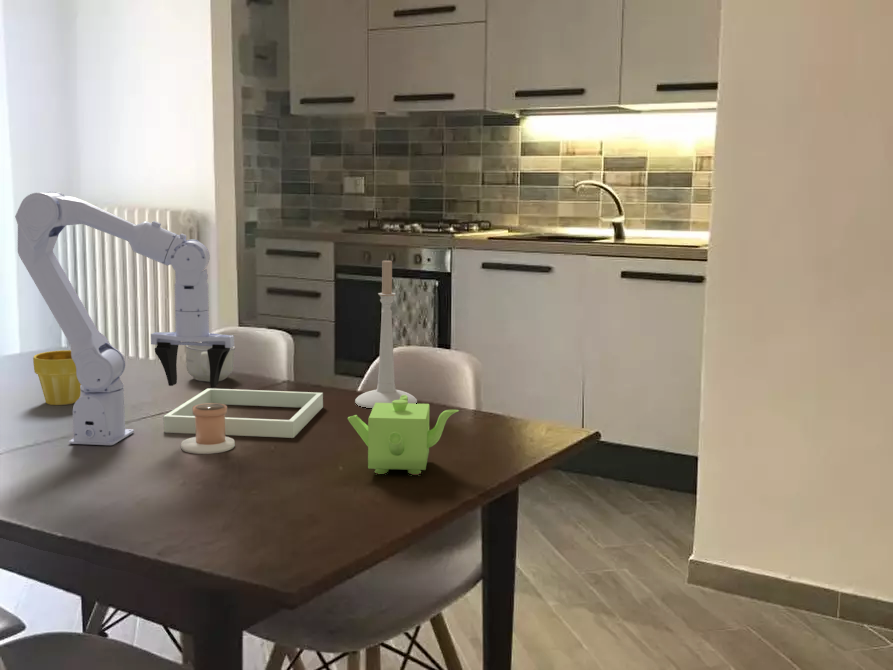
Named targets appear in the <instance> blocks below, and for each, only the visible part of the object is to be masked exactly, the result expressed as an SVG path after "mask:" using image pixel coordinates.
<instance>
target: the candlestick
mask: <svg viewBox="0 0 893 670" xmlns="http://www.w3.org/2000/svg"><path fill="white" fill-rule="evenodd" d="M381 271H382V272H381V277H382V278H381V292H378V293H377V294H378V296H379V297H380V299H379V301H380V303H381V304H382V310H381V321H380V322H381V323H380V338H379V339H380V340H379V341H380V342H379V359H378V360H379V361H378V376H377V377H378V378H377V385H376V386H377V387H376V389H373V390H369V391H366V392H362V393H361V394H359V395H358V396H357V397H356V398H355V400H354V404H355V403H356V404H357V405H358V407H359V406H361V407H360V408H362V407H366V408H372V409H373V407H374V405H375V403H392V401H394V400H400V397H401V396H402V395H407V396H408V403H413V404H416V403H417V404H418V399H417V398H416V397H415V396H414V395H413V394H411V393H409V392H406V391H404V390H400V389H396V388H397V387H396V385H395V383H396V382H395V381H396V379H395V361H394V359H395V358H394V340H393V339H394V337H393V336H394V335H393V311H392V309H391V307H392V303H394V296H395V295H396V293H395V292H393V261H392V260H389V259H388V258H387V259H386V260H382V261H381ZM356 404H355V405H356ZM357 405H356V406H357ZM366 408H365V409H366ZM372 409H371V410H372Z"/></svg>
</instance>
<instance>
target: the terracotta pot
mask: <svg viewBox="0 0 893 670" xmlns="http://www.w3.org/2000/svg"><path fill="white" fill-rule="evenodd" d="M226 414H228V405H225V404H219V403H205V404H199V405H195V406H193V415H194V416H195V428H196V434H195V437H196V443H198V444H204V445H213V444H220V443H223V442H225V436H226V435H225V417H226Z"/></svg>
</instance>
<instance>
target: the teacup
mask: <svg viewBox="0 0 893 670" xmlns="http://www.w3.org/2000/svg"><path fill="white" fill-rule="evenodd" d="M185 348H186V353H185V354H186V355H185V356H186V357H185V359H186V361H185V363H186V364H185V365H186V370H187V372H188V374H189V375H190V376H191V377H192V378H193V379H194V380H196V381H200V382H208V383H210V365H209V358H208V353H207V350H208V349H210V348H212V346H194V345H185ZM235 349H236V346H235V345H234V346H233V347H231V348H230V351H229V353H228V355H227V357H226V359H225V361H224V363H223V366H222V369H221V373H220V377H219V382H222V381H224V380H225V379H226V378H228V376H231V375H232V372H233V370H234V362H235Z"/></svg>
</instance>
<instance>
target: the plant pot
mask: <svg viewBox="0 0 893 670" xmlns="http://www.w3.org/2000/svg"><path fill="white" fill-rule="evenodd" d="M32 359H33V360H32V361H33V369H34V370H33V372H34V373H35V374H36V375H37V376H38V379H39V382H40V386H41V390H42V394H43V397H44V400H45V403H46V404H47V405H51V406H66V405H74V404H75V402H76V401H77V400H78V399H79V398H80V395H81V389H80V385H81V384H80V382H79V381H78V379H77V375H76V365H75V363H74V361H73V359H72V357H71V349H70V350H69V349H68V350H67V349H66V350H65V349H63V350H61V349H60V350H54V351H53V350H50V351H43V352H40V353H37V354H35V355H34V356H33V357H32Z"/></svg>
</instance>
